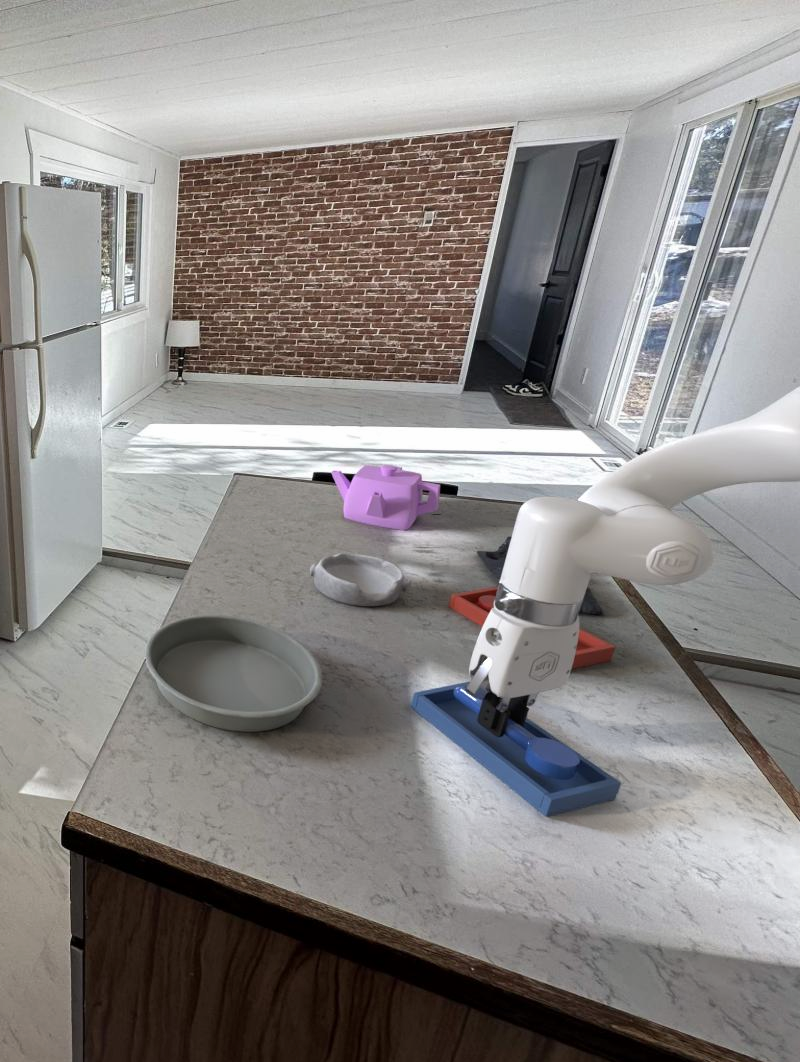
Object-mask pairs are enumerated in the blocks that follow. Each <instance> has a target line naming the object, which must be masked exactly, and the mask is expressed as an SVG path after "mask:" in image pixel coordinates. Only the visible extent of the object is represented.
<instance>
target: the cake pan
mask: <svg viewBox="0 0 800 1062" xmlns="http://www.w3.org/2000/svg"><path fill="white" fill-rule="evenodd" d="M148 654H149V655H148ZM145 659H146V661H145V664H146V666H147V669H148V671H149V673H150V674H151V676H152V677H153V678H154V680H155V682H156V685H157V687H158V689H159V692H160V694H161V695H162V696H163V697H164V698H165V700H166V701H167V702H168V703H169V704H170V705H171V706H172V707H173V708H175V709H176V710H178V711H179V712H180V713H182V714H184V715H185V716H187V717H188V718H190V719H192V720H194V721H197V722H198V723H201V724H204V725H207V726H209V727H213V728H217V729H221V730H226V731H232V732H246V733H253V732H254V733H257V732H264V731H270V730H274V729H278V728H280V727H283V726H285V725H287V724H290V723H291V722H292V721H294V720H295V719H297V717H298V716H299V715H300V714H301V713H302V712H303V710H304V709H305V706H307V705H309V704H310V703H311V702H312V701H313V700H314V699H316V697H317V696H318V695H319V692H320V690H321V688H322V685H323V673H322V668H321V666H320V664H319V662H318V660H317V658H316V657H315V656H314V654H313V652H312V651H310V650H309V648H307V647H306V645H304V644H303V643H302V642H300V641H299V640H298V639H296V638H295V637H293V636H292V635H290V634H288V633H287V632H285V631H283V630H281V629H279V628H276V627H274V626H272V625H271V624H270V625H269V624H266V623H264V622H261V621H258V620H254V619H250V618H246V617H242V616H235V615H226V614H199V615H198V614H197V615H191V616H185V617H181V618H177V619H174V620H173V621H170V622H168V623H165V624H164V625H162V626H160V627H159V628H158V629H156V630H155V631H154V632H153V633H152V635H150V637H149V638H148V639H147V642H146V644H145V647H144V660H145Z"/></svg>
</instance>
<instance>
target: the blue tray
mask: <svg viewBox="0 0 800 1062" xmlns="http://www.w3.org/2000/svg"><path fill="white" fill-rule="evenodd" d="M470 681H471V680H470ZM470 681H466V682H460V683H454V684H451V685H445V686H440V687H435V688H430V689H425V690H421V691H415V692H413V695H412V699H411V704H410V708H411V709H412V710H414V711H415V712H416V713H417V714H419V715H420V716H421V717H422V718H423V719H424V720H426V721H427V722H428V723H430V725H432V726H433V727H435V729H437V730H438V731H440V732H441V734H443V735H444V736H446V737H447V738H448V739H449V740H451V741H452V742H453V743H454V744H455V745H457V746H458V747H459V748H460V749H461V750H462V751H464V752H465V753H467V754H468V756H470V757H471V758H473V759H474V760H475V761H477V763H479V765H481V766H483V768H485V769H486V770H487V771H489V773H491V774H492V775H494V776H495V777H496V778H497V779H499V781H501V782H502V783H504V784H505V785H506V786H507V787H508V788H510V789H511V790H512V791H514V793H516V794H517V795H518V796H519V797H521V798H522V799H524V801H525V802H527V803H528V804H530V805H531V806H532V807H533V808H534V809H535V810H537V811H538V812H539V813H540V814H541V815H543V816H544V817H550V816H555V815H558V814H562V813H566V812H571V811H574V810H575V811H576V810H578V809H582V808H586V807H590V806H594V805H599V804H602V803H607V802H610V801H614V800H616V798H617V796H618V793H619V791H620V788H621V786H622V782H621V781H620V780H618V779H617V778H615V777H614V776H612V775H611V774H610V773H608V772H606V771H605V770H604V769H602V768H601V767H599V766H598V765H596V764H595V763H594V762H592V761H590V760H589V759H588V758H586V757H585V756H583V755H582V754H580V753H579V752H577V751H576V750H574V749H573V748H571V747H570V746H569V745H567V744H566V743H565V742H563V741H561V740H560V739H559V738H557V737H556V736H554V734H551V733H550V732H549V731H547V730H546V729H544V728H543V727H542V726H540V725H538V724H536V723H535V722H534V721H532V720H531V719H529V718H528V717H526V720H525V723H524V727H523V728H524V729H526V730H527V731H528V732H530V733H531V734H533V735H534V736H535V737H537V738H546V739H551V740H554V741H557V742H560V743H562V744H564V745H566V746H567V747H569V748H570V749H572V750H573V751H574V752H575V753H576V754H577V755H578V757H579V764H578V767H577V770H576V773H575V775H574V777H573V778H571V779H567V780H560V779H554V778H551V777H548V776H545V775H543V774H541V773H539V772H537V771H536V770H534V769H533V768H532V767H530V766H529V765H528V763H527V762H526V760H525V758H524V756H525V752H526V750H525V749H523V748H522V747H521V746H519V745H518V744H517V743H515V742H514V741H513V740H511V739H510V738H509V737H507V736H506V735H503V737H496V736H495V735H493V734H492V733H491V732H489V731H488V730H487V729H485V728H484V727H483V726H481V725H480V724H479V723H478V722H477V718H478V715H477V714H476V713H475V712H473V711H472V710H471V709H469V708H468V707H466V706H465V705H464V704H462V703H461V702H460V701H458V700H457V699H456V698H455V697H454V694H453V692H454V690H455V688H457V687H467V686H468V684H469V683H470Z"/></svg>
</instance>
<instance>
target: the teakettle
mask: <svg viewBox="0 0 800 1062" xmlns="http://www.w3.org/2000/svg"><path fill="white" fill-rule="evenodd" d="M330 473H331V476H332V478H333V480H334V482H335V486H336V487H337V489H338V491H339V494H340V495H341V498H342V501H343V502H344V503H343V516H344V519H347V520H350V521H354V522H357V523H360V524H361V523H362V524H366V525H369V526H373V527H374V526H375V527H381V528H386V529H392V530H398V531H408V530H409V529H410V528H411V526H413V524H414V523H415V521H416V519H417V517H418V516H420V515H424V514H429V513H433V512H437V510H438V509H439V504H440V495H441V494H440V493H441V484H438V483H432V482H428V481H424V480H423V477H422V476H423V475H422V473H419V472H416V471H410V470H406V469H405V470H403V467H402V466H396V465H392V464H383V465H380V466H378V465H369V464H368V465H367V464H366V465H364V466H362V467H361V468H360V469H359V470H358V471H357V472H356V473H355V474H354V475H353V477H352V480H351V481H350V480H349V479H348V478H347V477H346V475H345V474H344V473H343V472H342V470H332V471H331V472H330ZM423 491H428V496H427V500H426V501H424V502H423Z"/></svg>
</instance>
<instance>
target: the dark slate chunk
mask: <svg viewBox="0 0 800 1062" xmlns="http://www.w3.org/2000/svg"><path fill="white" fill-rule="evenodd" d="M511 538H512V535H509V536H507V537H506V539H505V541H504V542H503V543H502V544H501V545H500V546H498V549H497V550H495V551H489V550H488V551H487V550H477V551H476V554H477V556H478V557H479V558H480V559H481V560H482V562H483V564H484V565H485V566H486V567H487V569H488V570H489V571H490V573H492V574H493V575H495V577H496V578H497V579H498V580H499V581H500V578H501V575H502V571H503V567H504V564H505V560H506V556H507V553H508V549H509V545H510V541H511ZM579 613H581V614H582V613H583V614H590V615H604V614H605V612H604V610H603V608H602V607H601V606H600V605H599V604H598V601H597V599H596V597H594V595H593V593H592V591H591V589H590V587H589V585H588V586H587V589H586V592H585V595H584V598H583V601H582V604H581V607H580V610H579Z"/></svg>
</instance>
